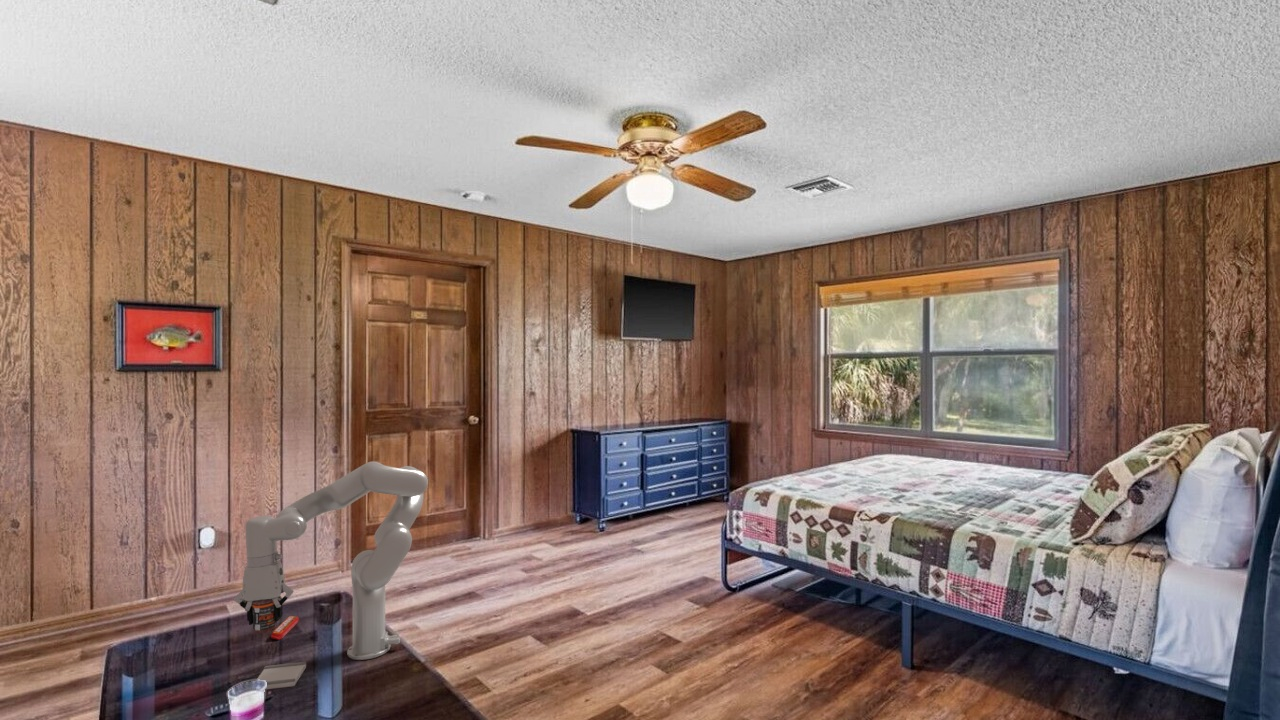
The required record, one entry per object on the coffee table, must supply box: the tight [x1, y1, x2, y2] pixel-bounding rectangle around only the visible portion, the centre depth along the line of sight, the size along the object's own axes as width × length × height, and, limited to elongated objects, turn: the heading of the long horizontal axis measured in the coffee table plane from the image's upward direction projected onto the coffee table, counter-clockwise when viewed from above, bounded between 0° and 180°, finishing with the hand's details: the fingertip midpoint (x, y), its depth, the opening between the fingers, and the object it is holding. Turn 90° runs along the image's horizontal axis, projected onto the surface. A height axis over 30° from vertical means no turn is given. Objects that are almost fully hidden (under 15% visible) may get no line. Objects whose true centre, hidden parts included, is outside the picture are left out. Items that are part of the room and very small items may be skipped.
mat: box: [255, 661, 307, 690], centre depth 176 cm, size 11×11×2 cm
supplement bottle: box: [252, 599, 278, 634], centre depth 176 cm, size 6×6×11 cm
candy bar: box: [270, 615, 300, 640], centre depth 208 cm, size 16×4×3 cm, turn 8°
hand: (265, 620), depth 176 cm, fingers closed on supplement bottle, 6 cm apart
